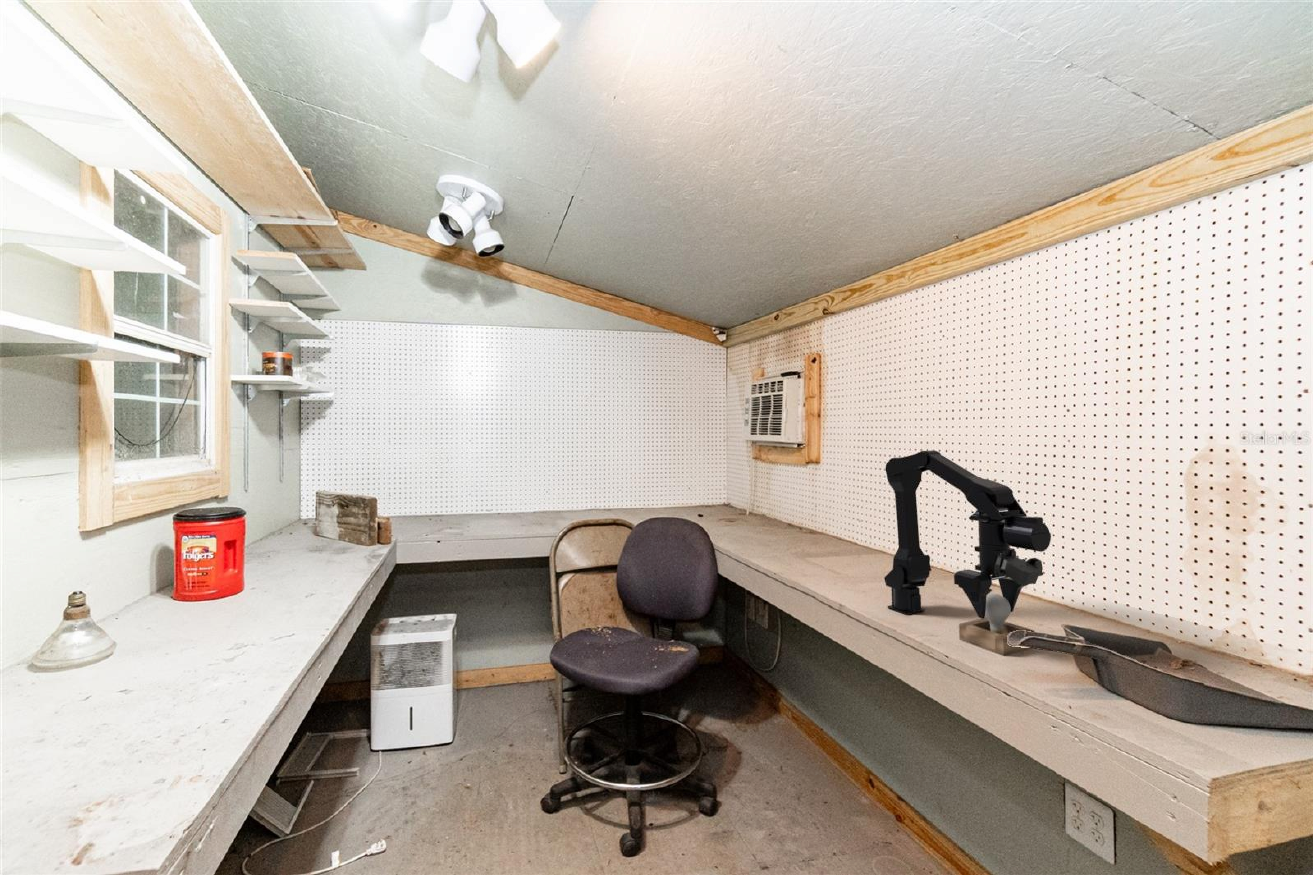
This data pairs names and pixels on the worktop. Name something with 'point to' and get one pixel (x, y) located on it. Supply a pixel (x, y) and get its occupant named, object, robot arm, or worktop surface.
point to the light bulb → (997, 611)
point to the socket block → (989, 636)
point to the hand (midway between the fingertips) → (996, 614)
